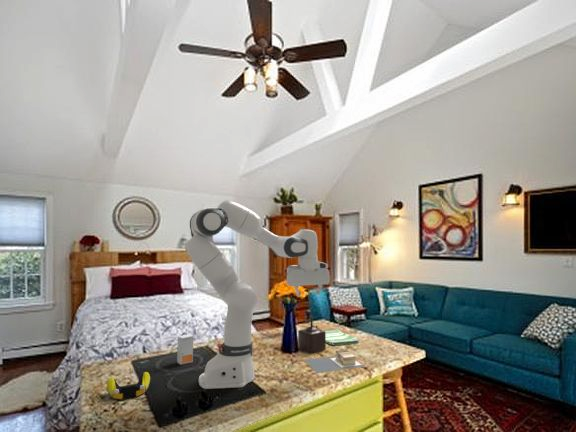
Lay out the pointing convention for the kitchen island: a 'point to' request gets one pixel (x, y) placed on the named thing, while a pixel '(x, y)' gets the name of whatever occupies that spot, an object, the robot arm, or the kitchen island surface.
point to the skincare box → (185, 349)
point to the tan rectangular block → (345, 357)
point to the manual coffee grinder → (311, 337)
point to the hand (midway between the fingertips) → (308, 295)
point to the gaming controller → (128, 387)
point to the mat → (329, 364)
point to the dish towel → (339, 338)
